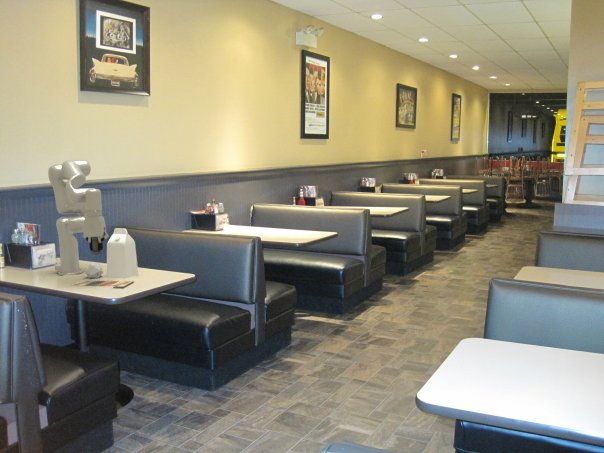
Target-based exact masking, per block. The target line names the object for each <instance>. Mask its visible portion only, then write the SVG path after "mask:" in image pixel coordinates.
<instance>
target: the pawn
mask: <svg viewBox="0 0 604 453" xmlns="http://www.w3.org/2000/svg"><path fill="white" fill-rule="evenodd" d="M98 243H99V240H98V237H92V250H93V251H90V252H91V255H101V254H102V252H103V251H102V250H101V251H98Z"/></svg>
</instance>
